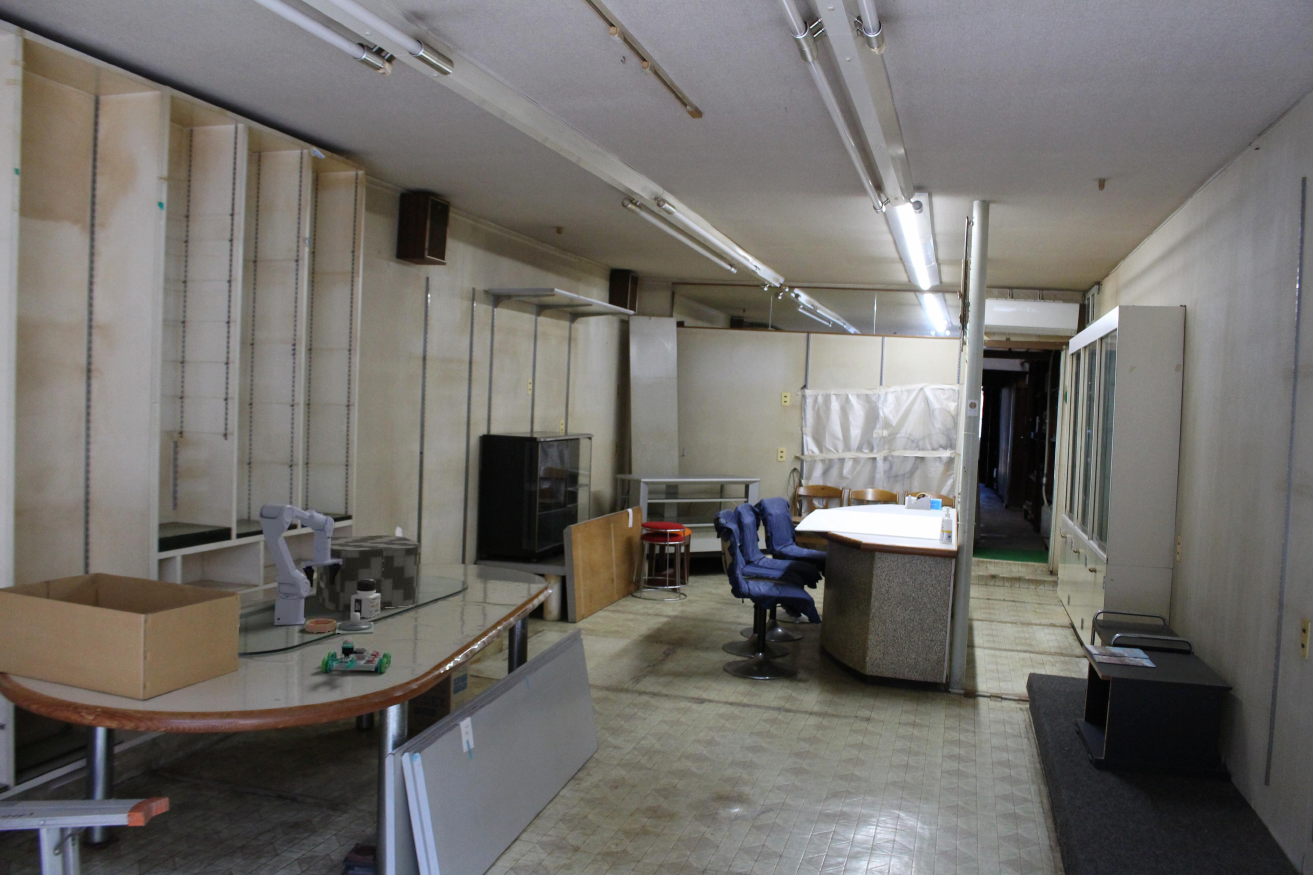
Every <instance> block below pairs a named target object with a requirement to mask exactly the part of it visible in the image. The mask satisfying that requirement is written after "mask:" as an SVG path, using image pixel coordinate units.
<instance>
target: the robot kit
mask: <svg viewBox="0 0 1313 875" xmlns="http://www.w3.org/2000/svg"><path fill="white" fill-rule="evenodd" d="M340 646H341V647H340V648H341V653H340V655H338V654H337V652H336V651H334V652H333V651H329V652H328V653H327V655H326V657H323V658H322V661H321V664H320V666H321V667H320V668H321V672H322V673H326V672H327V673H329V671H330V672H331V670H332V671H337V670H338V671H372V672H374V671H375V670H376V669H377V672H378V674H380V673H381V674H385V673H386V672H387V669H388V668H389V667H390V666H391V662H392V661H393V660H392V653H391V652H383V653H380V652H379V650H378V649H377V650H376V649H375V650H373V651H372V652H371V653H369V652H370V650H369V649H366V648H363V647H362V648H359V647H355V644H354V642H353V641H351V640H349V639H345V640H343V641H342V645H340ZM337 655H338V656H337Z"/></svg>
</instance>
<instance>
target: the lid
mask: <svg viewBox="0 0 1313 875" xmlns="http://www.w3.org/2000/svg"><path fill="white" fill-rule="evenodd" d="M350 615H351V616H350V621H345V622H339V623H340V624H339V625H338V629H340V630H345V631H362V630H367V629H370V628H371V627H372V624H371V623H368V621H362V620H361V617H360V613H358V612H354V613H351V612H350Z"/></svg>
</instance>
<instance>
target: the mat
mask: <svg viewBox="0 0 1313 875" xmlns="http://www.w3.org/2000/svg"><path fill="white" fill-rule="evenodd" d="M367 622H368V621H367ZM340 623H341V622H336V629H335V631H334V632H335V633H334V635H338V634H337V633H340V634H339V635H350V634H351V635H354V634H357V635H358V634H359V635H360V634H363V635H365V634H374V621H369V622H368V623H371V624H372V627H371V628H370V629H367V630H362V631H345V630H340V629H338V625H339V624H340Z"/></svg>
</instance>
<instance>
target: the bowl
mask: <svg viewBox="0 0 1313 875" xmlns="http://www.w3.org/2000/svg"><path fill="white" fill-rule="evenodd" d="M336 627H337V620H336V619H330V618H316V619H314V618H313V619H310V620H306V621H305V628H304V629H305V632H307V631H308V633H312V632H313V634H318V633H317V632H327V633H329V632H328V631H331V632H333V631H332V630H335V631H336V629H335V628H336Z"/></svg>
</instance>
